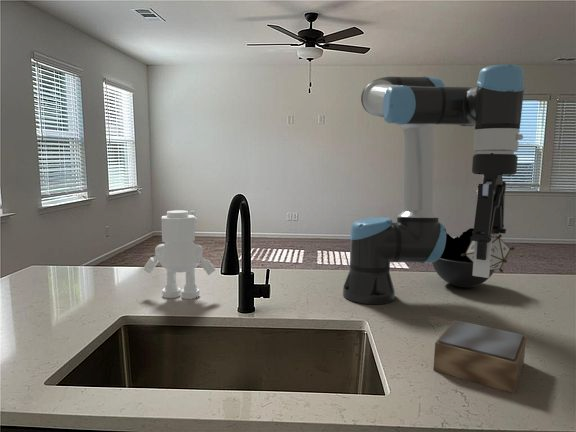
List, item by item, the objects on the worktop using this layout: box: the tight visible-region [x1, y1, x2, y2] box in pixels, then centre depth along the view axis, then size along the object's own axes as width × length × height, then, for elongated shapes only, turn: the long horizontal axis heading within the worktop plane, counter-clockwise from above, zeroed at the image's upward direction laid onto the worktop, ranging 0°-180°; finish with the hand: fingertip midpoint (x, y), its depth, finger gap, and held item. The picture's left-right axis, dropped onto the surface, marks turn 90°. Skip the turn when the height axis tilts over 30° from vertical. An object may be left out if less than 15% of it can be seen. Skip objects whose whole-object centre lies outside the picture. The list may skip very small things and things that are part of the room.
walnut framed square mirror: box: [433, 319, 527, 394], centre depth 84 cm, size 14×14×6 cm
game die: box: [461, 230, 516, 273], centre depth 81 cm, size 9×8×10 cm
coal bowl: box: [431, 227, 496, 288], centre depth 137 cm, size 20×20×19 cm
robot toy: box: [143, 209, 216, 300], centre depth 124 cm, size 22×12×25 cm, turn 84°
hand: (486, 270), depth 82 cm, fingers closed on game die, 10 cm apart
